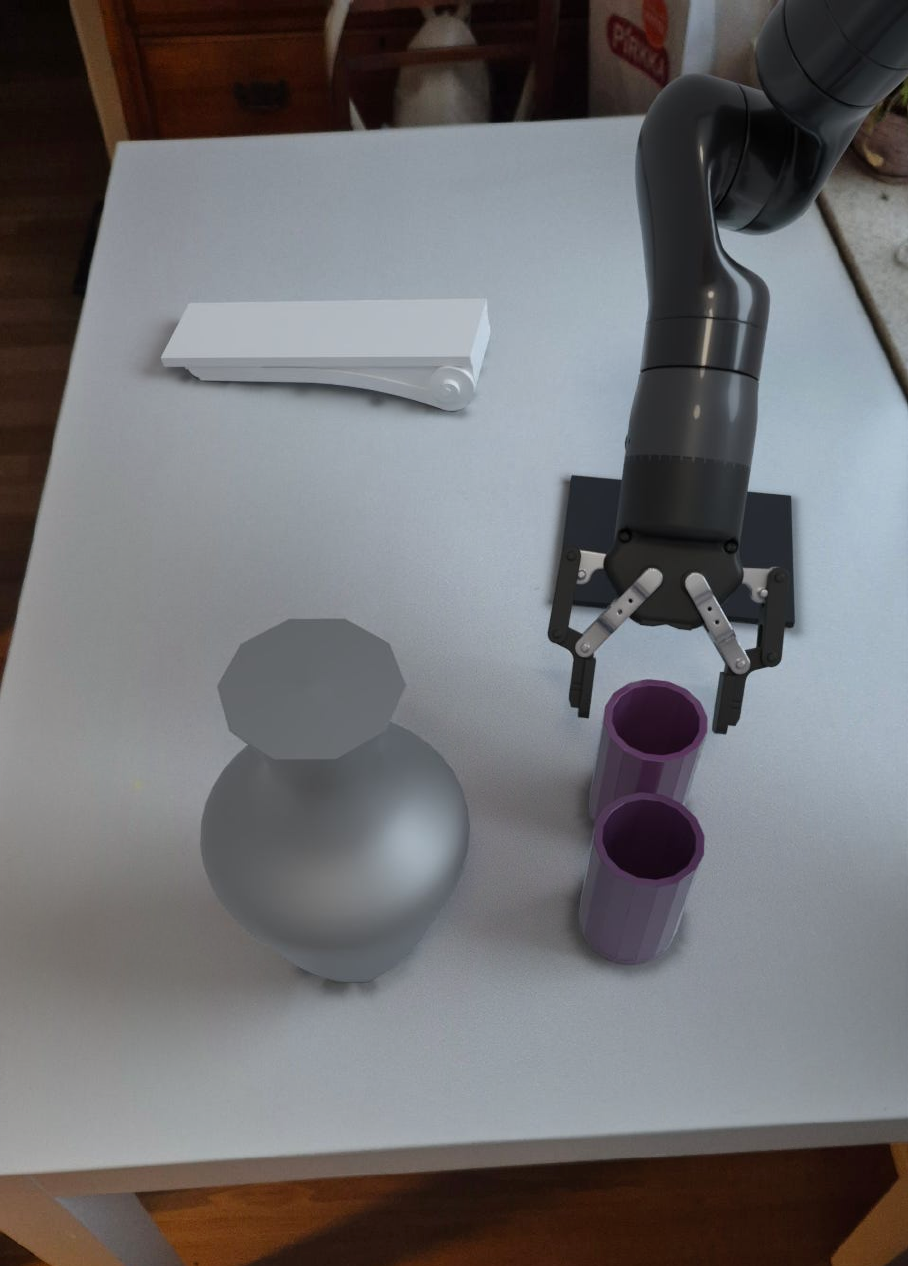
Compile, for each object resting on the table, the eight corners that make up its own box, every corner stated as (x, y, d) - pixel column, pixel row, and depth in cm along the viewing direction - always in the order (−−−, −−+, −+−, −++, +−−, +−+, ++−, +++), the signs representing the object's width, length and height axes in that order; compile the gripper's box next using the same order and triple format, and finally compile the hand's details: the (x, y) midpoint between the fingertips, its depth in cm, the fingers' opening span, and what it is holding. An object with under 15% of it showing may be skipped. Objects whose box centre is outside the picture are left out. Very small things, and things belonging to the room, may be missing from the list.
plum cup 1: (681, 777, 78) (708, 685, 70) (678, 853, 75) (706, 766, 67) (591, 766, 79) (607, 674, 70) (584, 842, 76) (600, 754, 67)
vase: (228, 1044, 68) (125, 821, 47) (250, 839, 76) (171, 568, 55) (469, 1043, 68) (474, 819, 47) (467, 838, 76) (470, 567, 55)
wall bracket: (188, 426, 107) (480, 429, 101) (156, 373, 100) (467, 372, 94) (211, 340, 110) (495, 338, 104) (181, 282, 103) (483, 276, 97)
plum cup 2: (677, 883, 74) (705, 799, 65) (674, 970, 70) (703, 893, 62) (582, 872, 74) (597, 786, 66) (574, 958, 71) (590, 879, 63)
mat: (789, 500, 93) (791, 495, 93) (793, 627, 86) (795, 622, 85) (570, 480, 95) (571, 474, 94) (555, 603, 87) (556, 598, 87)
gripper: (569, 439, 65) (536, 719, 69) (821, 463, 64) (775, 746, 67) (569, 453, 72) (540, 705, 76) (796, 474, 71) (755, 729, 75)
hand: (651, 724), depth 72 cm, fingers open, 8 cm apart
